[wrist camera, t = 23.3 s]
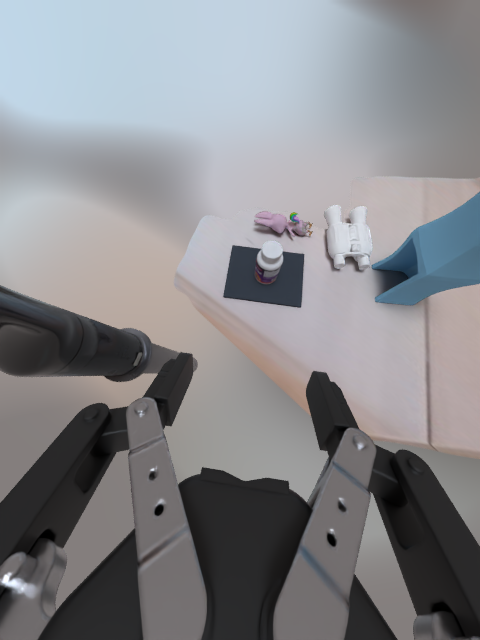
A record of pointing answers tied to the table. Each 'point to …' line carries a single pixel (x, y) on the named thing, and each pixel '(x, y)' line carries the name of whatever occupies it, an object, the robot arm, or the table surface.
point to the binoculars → (348, 236)
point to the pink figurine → (283, 223)
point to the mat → (248, 288)
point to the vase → (437, 256)
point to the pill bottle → (269, 262)
